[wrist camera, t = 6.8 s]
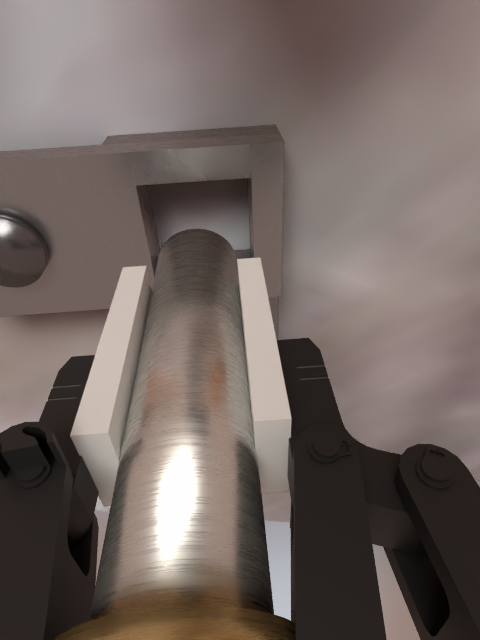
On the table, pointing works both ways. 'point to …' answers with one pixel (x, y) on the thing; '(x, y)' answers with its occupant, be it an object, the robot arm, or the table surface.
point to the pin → (188, 470)
